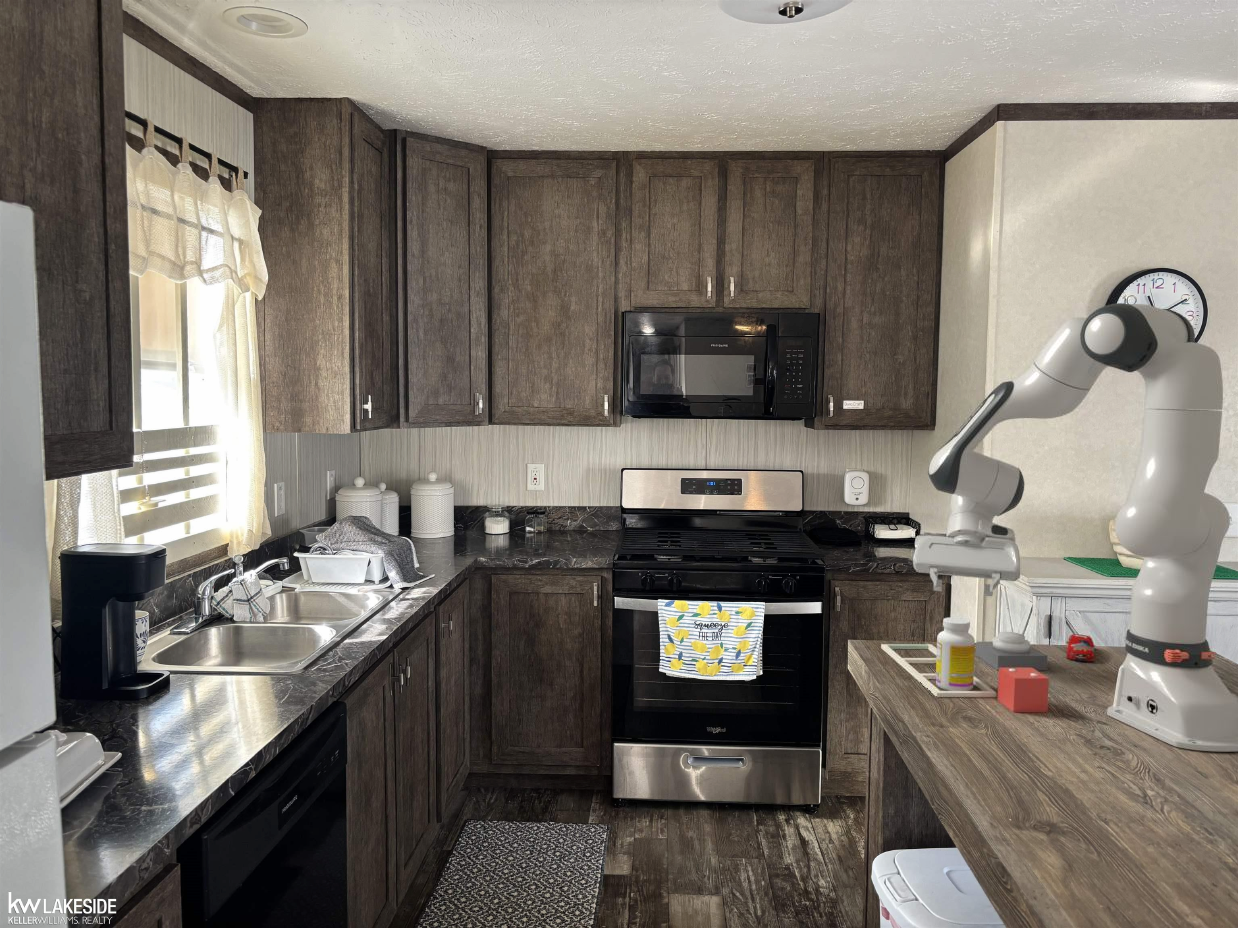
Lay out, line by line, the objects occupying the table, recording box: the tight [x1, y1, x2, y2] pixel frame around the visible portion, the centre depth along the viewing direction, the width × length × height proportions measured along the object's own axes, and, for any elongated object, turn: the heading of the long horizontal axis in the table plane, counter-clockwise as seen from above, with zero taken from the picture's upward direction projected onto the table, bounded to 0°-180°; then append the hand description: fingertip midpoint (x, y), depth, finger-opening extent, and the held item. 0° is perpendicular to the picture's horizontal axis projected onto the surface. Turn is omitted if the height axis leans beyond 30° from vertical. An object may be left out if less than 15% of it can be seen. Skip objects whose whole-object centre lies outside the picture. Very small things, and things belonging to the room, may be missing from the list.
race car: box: [1065, 633, 1096, 663], centre depth 185 cm, size 13×5×4 cm, turn 151°
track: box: [880, 643, 998, 698], centre depth 173 cm, size 31×11×1 cm, turn 1°
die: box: [997, 668, 1050, 713], centre depth 153 cm, size 6×6×6 cm
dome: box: [992, 631, 1031, 653], centre depth 178 cm, size 7×7×3 cm
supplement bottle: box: [935, 616, 976, 691], centre depth 163 cm, size 7×7×13 cm
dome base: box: [975, 641, 1048, 671], centre depth 179 cm, size 10×10×3 cm
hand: (962, 591), depth 171 cm, fingers open, 8 cm apart
